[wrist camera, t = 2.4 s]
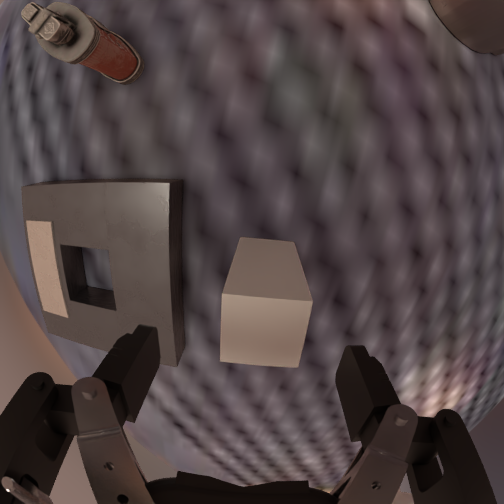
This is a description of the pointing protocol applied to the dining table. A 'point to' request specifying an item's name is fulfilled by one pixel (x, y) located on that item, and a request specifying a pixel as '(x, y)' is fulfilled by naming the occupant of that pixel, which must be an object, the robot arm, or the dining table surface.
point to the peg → (265, 305)
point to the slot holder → (120, 254)
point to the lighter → (83, 41)
